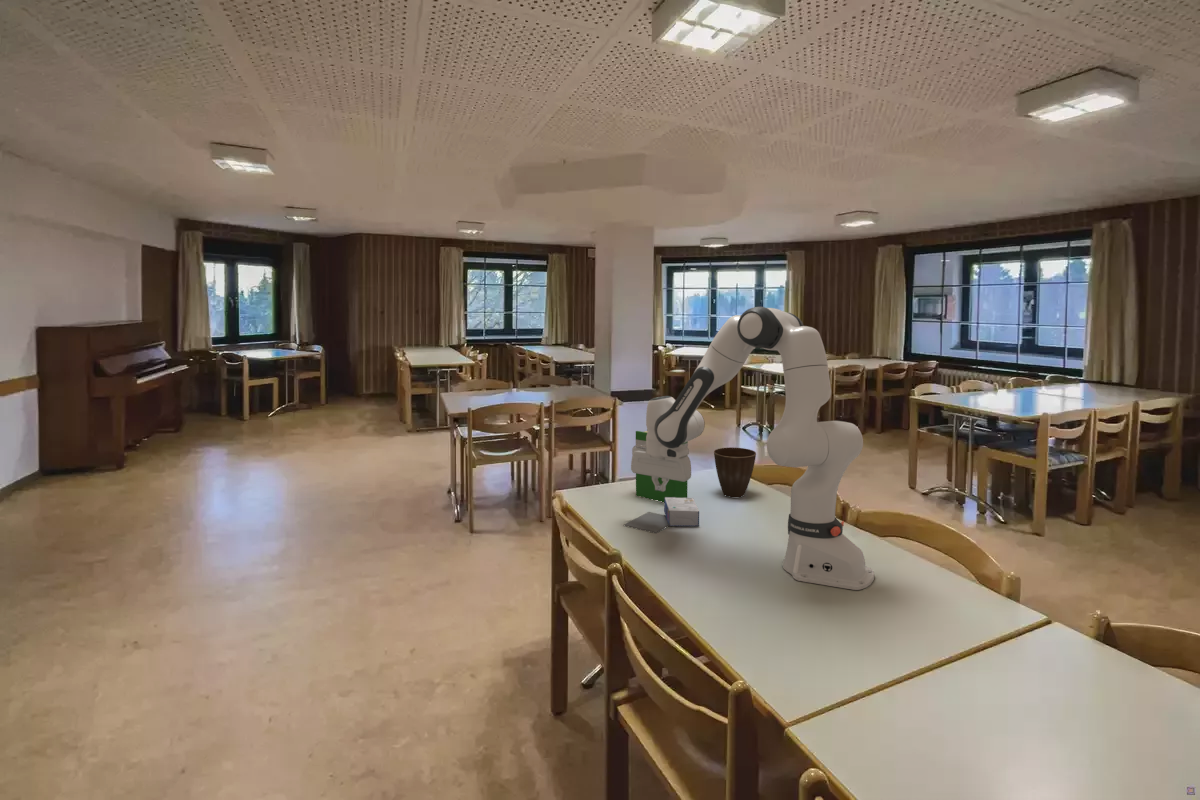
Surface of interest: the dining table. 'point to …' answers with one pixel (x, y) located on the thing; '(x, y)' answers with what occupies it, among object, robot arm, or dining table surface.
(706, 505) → the dining table surface
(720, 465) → the plant pot
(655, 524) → the mat
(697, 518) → the ink cartridge box
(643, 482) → the hardback book
